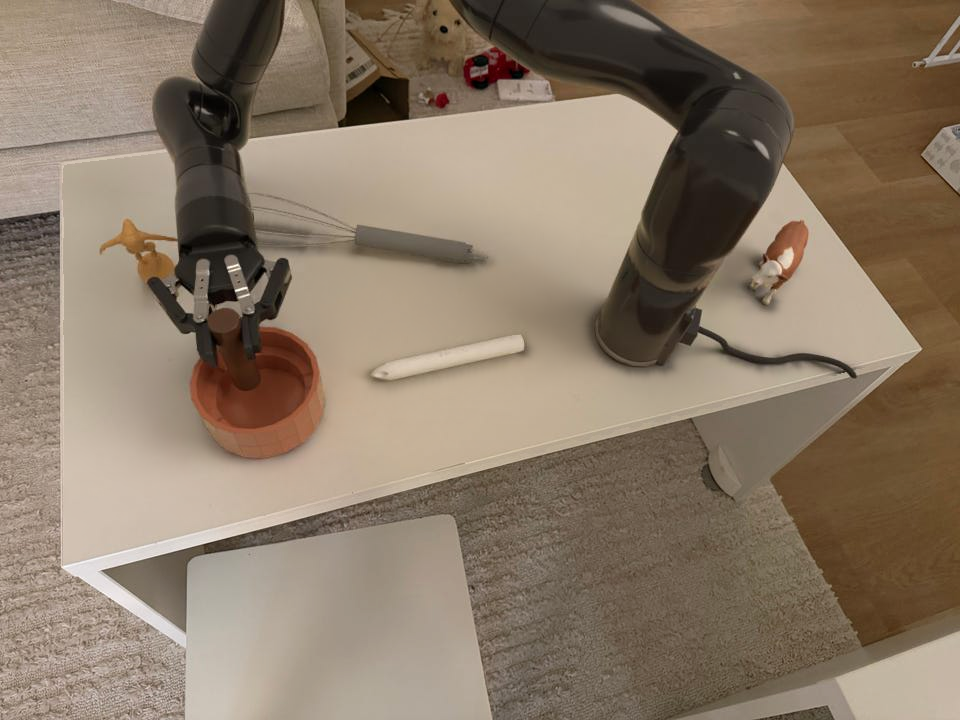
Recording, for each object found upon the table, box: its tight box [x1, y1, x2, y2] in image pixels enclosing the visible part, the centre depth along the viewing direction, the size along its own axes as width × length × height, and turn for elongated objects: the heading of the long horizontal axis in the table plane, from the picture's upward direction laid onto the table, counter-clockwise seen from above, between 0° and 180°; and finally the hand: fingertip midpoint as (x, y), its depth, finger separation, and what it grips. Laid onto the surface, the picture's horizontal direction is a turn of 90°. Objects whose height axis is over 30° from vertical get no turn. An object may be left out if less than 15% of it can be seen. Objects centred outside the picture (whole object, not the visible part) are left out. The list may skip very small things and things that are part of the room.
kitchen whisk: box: [248, 192, 489, 264], centre depth 82 cm, size 6×34×6 cm, turn 86°
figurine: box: [98, 218, 178, 284], centre depth 74 cm, size 8×6×12 cm
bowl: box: [189, 326, 326, 459], centre depth 69 cm, size 12×12×6 cm
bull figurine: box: [748, 219, 809, 306], centre depth 85 cm, size 4×13×8 cm, turn 143°
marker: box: [370, 333, 525, 381], centre depth 76 cm, size 18×2×2 cm, turn 108°
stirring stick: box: [207, 307, 261, 391], centre depth 65 cm, size 3×3×11 cm
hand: (231, 358), depth 61 cm, fingers closed on stirring stick, 2 cm apart
